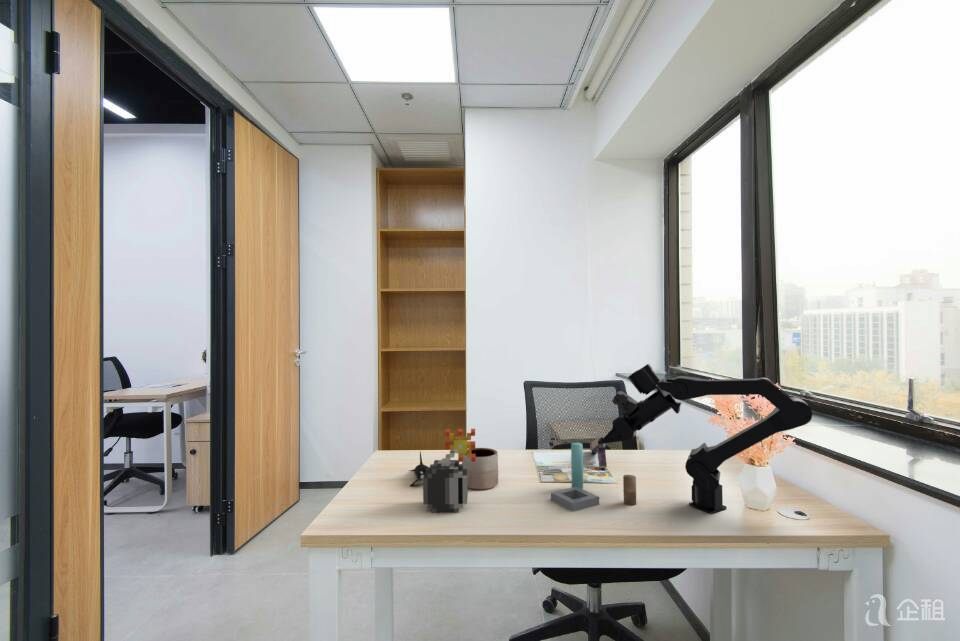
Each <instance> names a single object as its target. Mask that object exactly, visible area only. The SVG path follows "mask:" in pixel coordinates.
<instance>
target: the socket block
mask: <svg viewBox="0 0 960 641" xmlns="http://www.w3.org/2000/svg"><path fill="white" fill-rule="evenodd" d="M574 498H575V499H574ZM550 501H552V502H554V503H556V504H558V505H560V506H562V507H563V508H566V509H567V510H569V511H571V512H576V511H579V510H583V509H587V508H591V507H595V506H597V505H600V496H599V495H596V494H594V493H592V492H589V491H588V490H585V489H584V488H583V489H581V488H579V487H577V486H576V487H572V486H571V487H568V488H564V489H559V490H555V491H551V492H550Z"/></svg>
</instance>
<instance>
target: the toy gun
mask: <svg viewBox="0 0 960 641" xmlns="http://www.w3.org/2000/svg"><path fill="white" fill-rule="evenodd" d="M604 437H605V436H602V435H601V436H597V437H596V438H595V439H594V440H593V441H592V442H590V445H589V446H590V448H589V450H590V452H591V454H597V460H598V468H599V469H601V468H602V469H603V468H604V469H605V468H606V469H607V468H608V467H607V465H608V464H607V457H606V456H607V454H606V443H605V444H604V443H603V442H602V439H603V438H604Z"/></svg>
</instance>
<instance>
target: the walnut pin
mask: <svg viewBox="0 0 960 641" xmlns="http://www.w3.org/2000/svg"><path fill="white" fill-rule="evenodd" d="M622 477H623V478H622V479H623V480H622V481H623V482H622V483H623V489H622V490H623V491H622V492H623V504H624V505H626V506H631V507H633V506H636V505H637V477H636V476H635V475H633V474H624V475H623V476H622Z"/></svg>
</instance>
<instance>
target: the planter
mask: <svg viewBox="0 0 960 641" xmlns="http://www.w3.org/2000/svg"><path fill="white" fill-rule="evenodd" d="M467 450H471V454H475V462H471V457H467V453H463V462H461V464H463V468H467V475H468V489H469V490H473V491H475V490H476V491H484V490H485V491H486V490H491V489H494V488H495V487H496V486H498V484H499V452H498V450H496V449H492V448H489V447H475V449H467Z"/></svg>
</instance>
